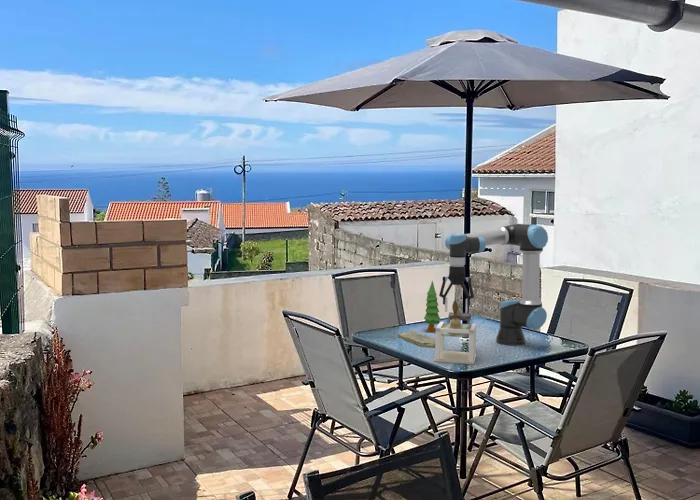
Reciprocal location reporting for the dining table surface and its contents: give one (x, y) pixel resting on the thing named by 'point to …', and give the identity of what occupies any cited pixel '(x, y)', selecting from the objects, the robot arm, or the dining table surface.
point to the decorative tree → (432, 309)
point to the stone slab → (418, 339)
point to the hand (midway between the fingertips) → (456, 311)
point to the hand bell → (455, 319)
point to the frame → (453, 355)
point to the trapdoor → (466, 326)
